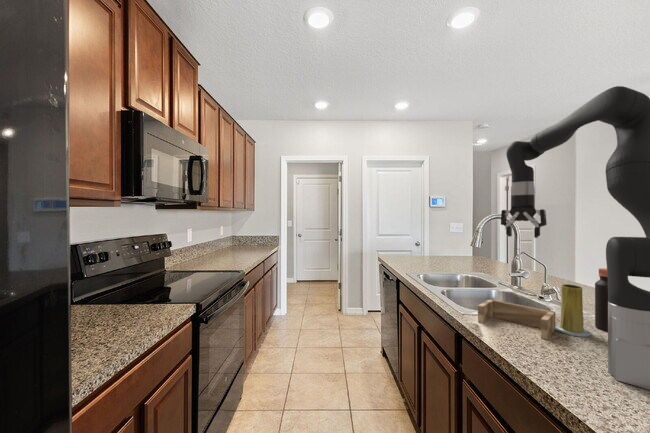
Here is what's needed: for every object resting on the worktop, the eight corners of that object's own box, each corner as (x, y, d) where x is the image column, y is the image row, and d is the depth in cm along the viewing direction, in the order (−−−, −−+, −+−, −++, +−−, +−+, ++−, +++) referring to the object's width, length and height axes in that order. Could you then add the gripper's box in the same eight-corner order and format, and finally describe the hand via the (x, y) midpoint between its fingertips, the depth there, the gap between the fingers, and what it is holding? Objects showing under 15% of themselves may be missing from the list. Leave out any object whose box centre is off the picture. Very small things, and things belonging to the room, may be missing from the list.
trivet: (588, 339, 90) (588, 337, 90) (551, 330, 97) (551, 329, 97) (592, 331, 96) (592, 329, 96) (557, 323, 103) (557, 322, 103)
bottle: (603, 324, 102) (602, 267, 102) (628, 331, 95) (628, 270, 95) (590, 326, 100) (589, 268, 100) (614, 334, 93) (614, 272, 93)
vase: (562, 330, 95) (562, 287, 95) (557, 324, 100) (557, 283, 100) (586, 334, 92) (587, 289, 92) (580, 327, 98) (580, 285, 97)
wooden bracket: (547, 339, 90) (547, 320, 90) (478, 322, 105) (477, 305, 105) (555, 329, 97) (555, 311, 97) (489, 314, 113) (489, 299, 113)
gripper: (498, 195, 113) (498, 236, 113) (543, 192, 103) (543, 238, 103) (504, 195, 118) (504, 235, 118) (548, 193, 108) (548, 237, 108)
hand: (522, 237), depth 111 cm, fingers open, 8 cm apart
